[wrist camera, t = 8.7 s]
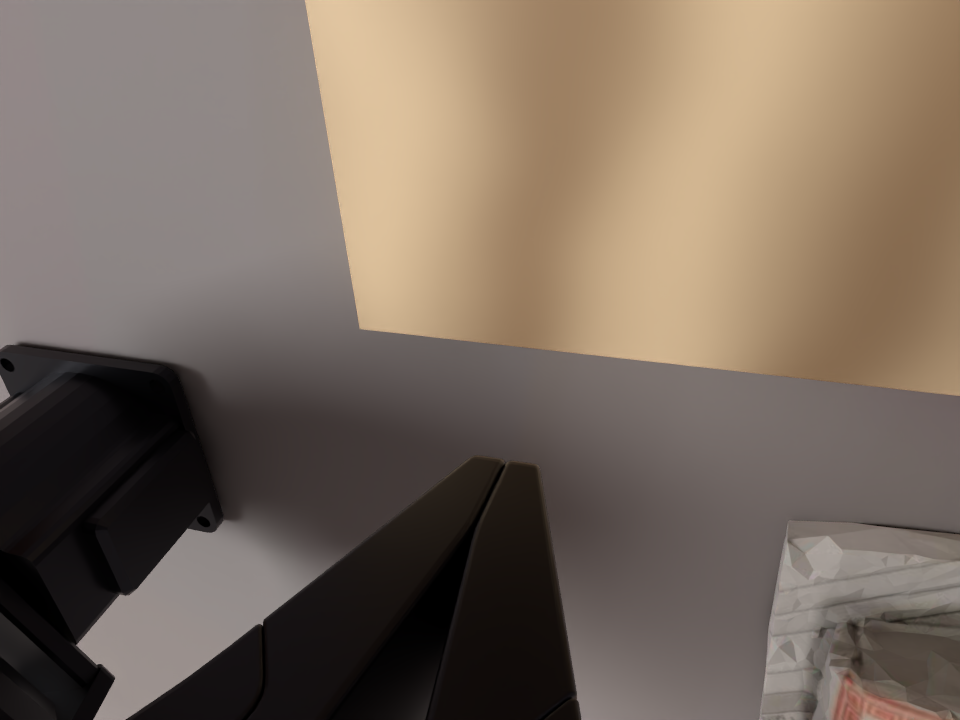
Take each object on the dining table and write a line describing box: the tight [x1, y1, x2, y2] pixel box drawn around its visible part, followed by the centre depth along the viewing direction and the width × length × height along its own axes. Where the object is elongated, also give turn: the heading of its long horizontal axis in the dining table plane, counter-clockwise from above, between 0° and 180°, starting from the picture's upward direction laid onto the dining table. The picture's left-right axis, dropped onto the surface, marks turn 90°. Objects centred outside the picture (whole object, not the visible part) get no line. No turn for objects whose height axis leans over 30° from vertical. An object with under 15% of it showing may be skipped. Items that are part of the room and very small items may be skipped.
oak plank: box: [305, 0, 960, 396], centre depth 13 cm, size 20×7×2 cm, turn 93°
